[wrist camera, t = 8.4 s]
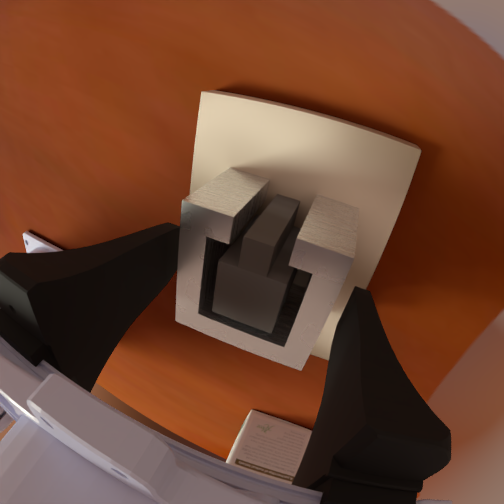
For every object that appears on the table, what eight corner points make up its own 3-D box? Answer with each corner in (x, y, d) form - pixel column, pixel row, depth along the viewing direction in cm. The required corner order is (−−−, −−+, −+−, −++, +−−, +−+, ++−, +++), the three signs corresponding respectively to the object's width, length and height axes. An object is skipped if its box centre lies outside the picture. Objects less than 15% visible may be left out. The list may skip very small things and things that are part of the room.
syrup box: (250, 406, 24) (175, 560, 12) (316, 430, 23) (261, 588, 11) (239, 432, 27) (176, 558, 15) (296, 452, 26) (245, 581, 14)
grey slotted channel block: (318, 309, 15) (301, 370, 12) (214, 271, 16) (175, 320, 13) (359, 208, 12) (354, 258, 9) (230, 167, 13) (182, 200, 10)
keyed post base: (332, 345, 18) (314, 419, 14) (192, 294, 20) (146, 351, 15) (416, 145, 11) (445, 180, 7) (214, 90, 13) (142, 100, 9)
